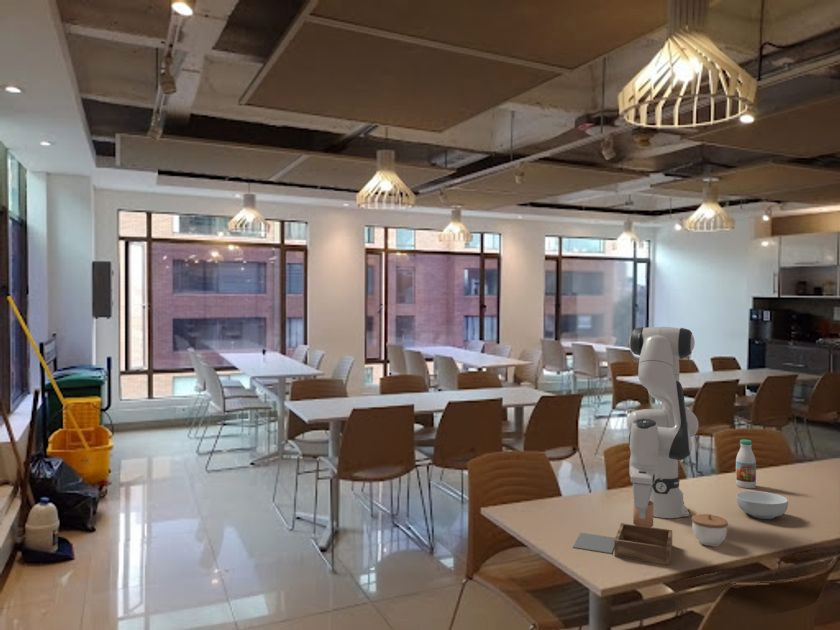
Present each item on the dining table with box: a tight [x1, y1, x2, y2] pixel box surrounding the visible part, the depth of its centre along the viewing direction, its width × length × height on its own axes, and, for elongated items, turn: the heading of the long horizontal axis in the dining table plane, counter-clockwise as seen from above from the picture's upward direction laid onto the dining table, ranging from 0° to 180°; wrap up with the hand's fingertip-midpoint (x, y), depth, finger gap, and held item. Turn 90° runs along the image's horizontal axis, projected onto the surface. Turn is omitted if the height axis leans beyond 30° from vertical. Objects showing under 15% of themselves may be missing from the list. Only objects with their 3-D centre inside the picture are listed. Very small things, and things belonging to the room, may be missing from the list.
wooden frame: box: [613, 522, 673, 566], centre depth 198 cm, size 17×16×5 cm
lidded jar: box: [691, 513, 729, 547], centre depth 205 cm, size 11×11×9 cm
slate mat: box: [572, 532, 615, 555], centre depth 204 cm, size 14×12×1 cm
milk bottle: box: [735, 439, 757, 489], centre depth 271 cm, size 8×8×20 cm
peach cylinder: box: [632, 501, 654, 527], centre depth 199 cm, size 6×6×7 cm
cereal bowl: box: [735, 490, 789, 520], centre depth 232 cm, size 17×17×7 cm
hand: (643, 514), depth 199 cm, fingers closed on peach cylinder, 6 cm apart
